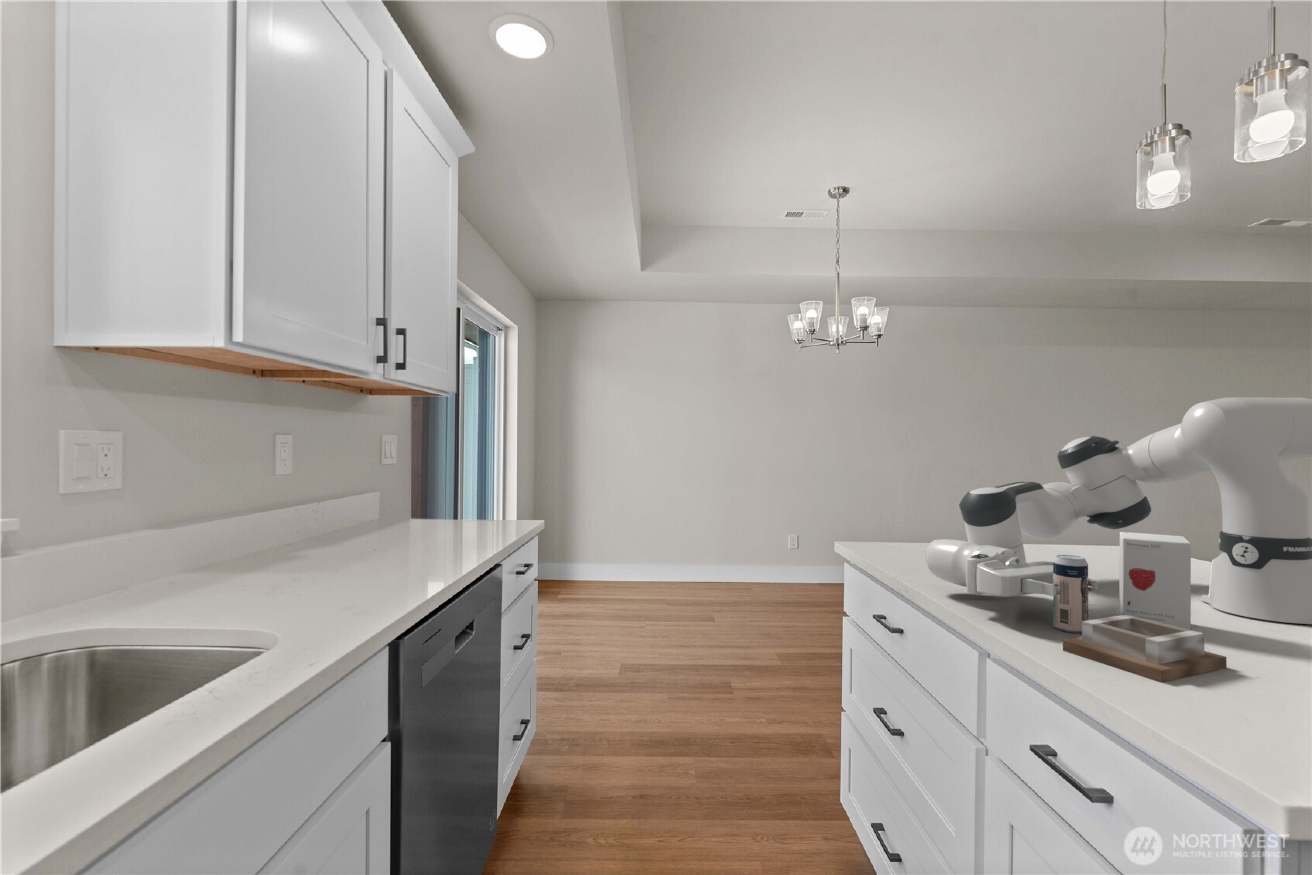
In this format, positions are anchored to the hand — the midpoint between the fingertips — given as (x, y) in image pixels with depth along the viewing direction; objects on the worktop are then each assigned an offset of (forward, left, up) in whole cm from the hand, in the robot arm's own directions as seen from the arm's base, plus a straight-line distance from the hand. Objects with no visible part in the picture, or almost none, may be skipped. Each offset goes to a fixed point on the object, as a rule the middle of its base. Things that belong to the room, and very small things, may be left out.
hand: (1076, 588), depth 100 cm
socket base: (+4, +12, -7) cm, 15 cm away
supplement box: (-16, +2, -7) cm, 18 cm away
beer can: (0, -1, -7) cm, 7 cm away
